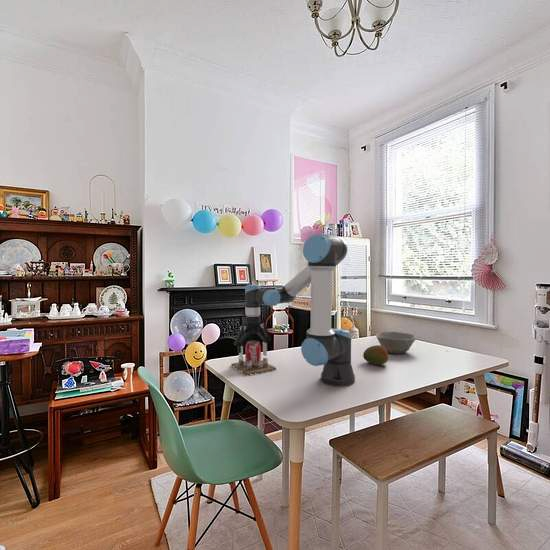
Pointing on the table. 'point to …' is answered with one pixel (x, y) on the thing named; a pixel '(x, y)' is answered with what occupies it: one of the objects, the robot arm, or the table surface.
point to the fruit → (376, 355)
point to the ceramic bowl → (396, 341)
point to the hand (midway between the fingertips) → (253, 357)
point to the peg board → (249, 370)
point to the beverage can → (253, 353)
